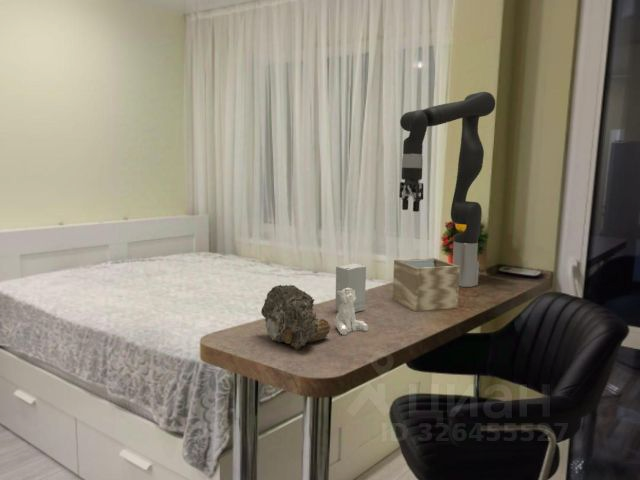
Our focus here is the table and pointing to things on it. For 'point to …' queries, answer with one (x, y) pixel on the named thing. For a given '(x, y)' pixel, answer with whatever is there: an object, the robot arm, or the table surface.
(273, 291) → the rock
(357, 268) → the skincare box
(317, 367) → the table surface
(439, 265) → the hatch box
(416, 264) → the hatch door
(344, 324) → the seated beast figurine
